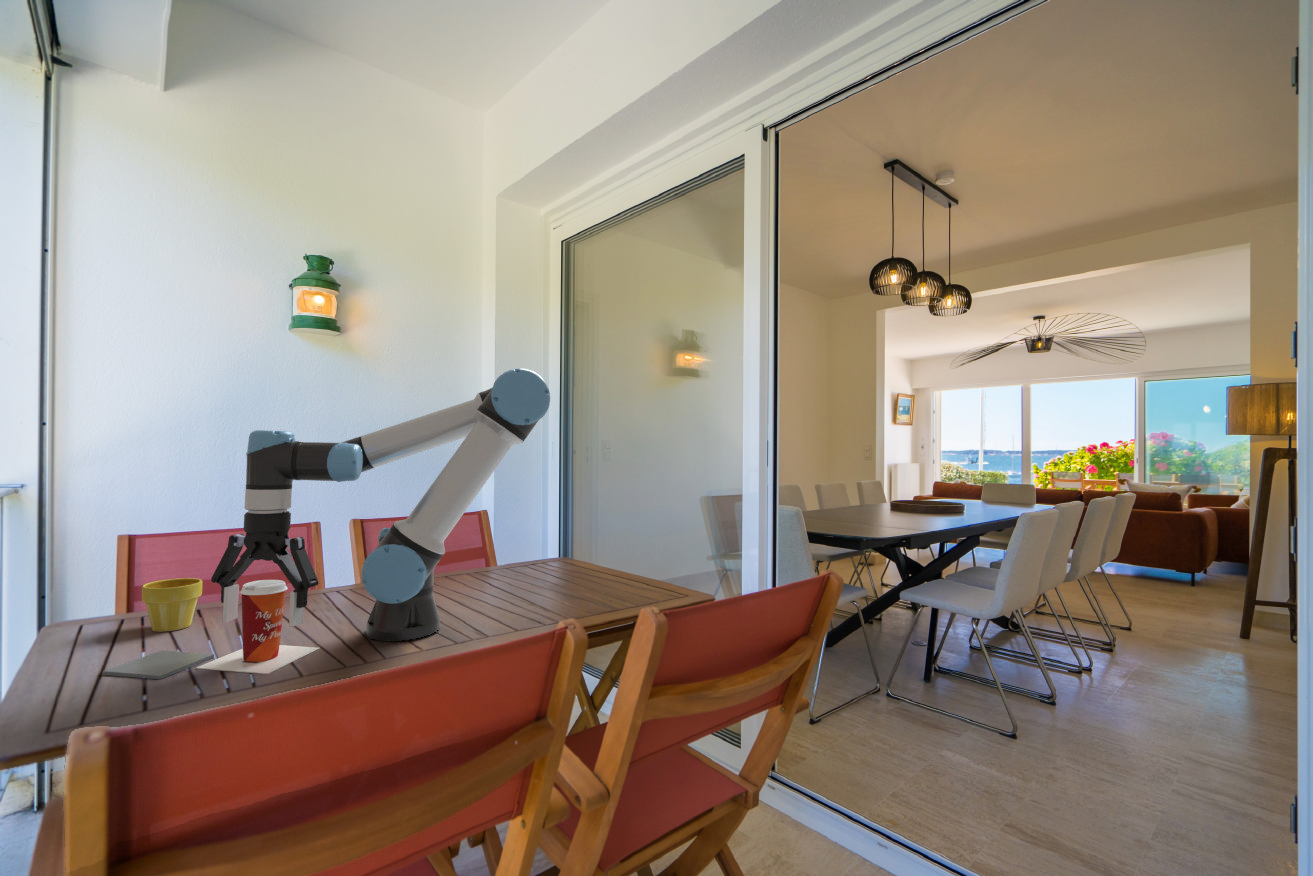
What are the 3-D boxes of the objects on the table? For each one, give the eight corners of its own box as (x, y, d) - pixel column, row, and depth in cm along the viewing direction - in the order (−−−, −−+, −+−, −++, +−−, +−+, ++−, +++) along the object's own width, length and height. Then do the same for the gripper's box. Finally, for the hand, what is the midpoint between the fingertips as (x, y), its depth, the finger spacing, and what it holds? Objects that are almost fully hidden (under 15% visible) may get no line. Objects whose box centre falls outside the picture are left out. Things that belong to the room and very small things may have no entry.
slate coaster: (213, 657, 114) (213, 654, 114) (160, 679, 103) (160, 675, 103) (161, 653, 115) (161, 650, 115) (102, 674, 104) (102, 671, 104)
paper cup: (261, 666, 110) (264, 589, 110) (225, 661, 111) (229, 586, 112) (294, 652, 117) (298, 580, 118) (261, 648, 119) (264, 577, 119)
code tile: (319, 648, 121) (319, 647, 121) (267, 674, 107) (267, 673, 107) (255, 644, 122) (255, 643, 122) (195, 668, 108) (195, 667, 108)
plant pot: (128, 630, 128) (130, 584, 128) (182, 618, 137) (184, 575, 138) (158, 637, 124) (160, 590, 124) (211, 624, 134) (213, 580, 134)
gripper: (341, 511, 117) (336, 621, 117) (224, 506, 120) (219, 613, 120) (315, 515, 110) (310, 632, 109) (191, 509, 113) (186, 623, 112)
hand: (262, 622), depth 115 cm, fingers open, 13 cm apart
